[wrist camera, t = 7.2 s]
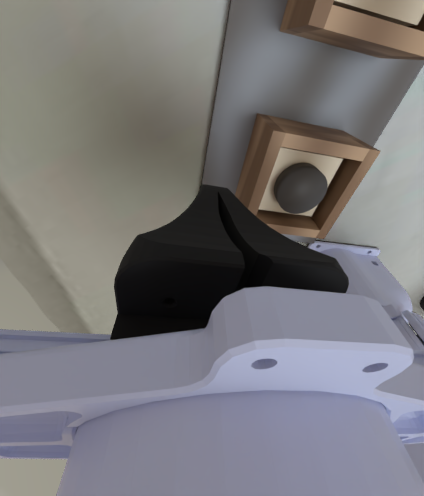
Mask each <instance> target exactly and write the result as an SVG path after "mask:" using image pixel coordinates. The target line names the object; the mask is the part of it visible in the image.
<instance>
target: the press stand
mask: <svg viewBox="0 0 424 496" xmlns="http://www.w3.org/2000/svg"><path fill="white" fill-rule="evenodd" d="M333 2H334V0H231V1H230V8H229V14H228V20H227V27H226V33H225V39H224V45H223V52H222V58H221V64H220V71H219V77H218V83H217V89H216V96H215V102H214V108H213V115H212V121H211V127H210V133H209V140H208V146H207V152H206V159H205V165H204V171H203V177H202V184H206V185H212V186H218V187H224V188H228V189H229V190H230V191H231V192H232V193H233V194H234V195H235V196H236V197H237V198H238V199H239V200H240V202H241V203H242V204H243V205H244V206H245V207H246V208H247V209H248V210H250V211H251V212H252V213H253V214H254V215H255V216H256V217H257V218H259V219H260V220H261V221H262V222H264V223H265V224H267V225H268V226H269V227H271V228H272V229H274V230H275V231H277V232H279V233H280V234H282V235H284V236H285V237H287V238H289V239H291V240H293V241H297V242H305V243H314V242H315V240H316V238H320V239H324V238H325V237H326V235H327V234H328V232H329V230H330V229H331V227H332V226H333V224H334V223H335V221H336V220H337V218H338V216H339V215H340V213H341V212H342V210H343V209H344V207H345V206H346V204H347V203H348V201H349V199H350V198H351V196H352V195H353V193H354V192H355V190H356V189H357V187H358V186H359V184H360V182H361V181H362V179H363V178H364V176H365V175H366V173H367V172H368V170H369V169H370V167H371V165H372V164H373V162H374V161H375V159H376V158H377V156H378V155H379V153H380V152H381V151H379V150H377V149H376V148H374V147H373V146H374V144H375V143H376V141H377V140H378V138H379V136H380V135H381V133H382V131H383V130H384V128H385V127H386V125H387V123H388V122H389V120H390V118H391V117H392V115H393V114H394V112H395V110H396V109H397V107H398V106H399V104H400V102H401V101H402V99H403V97H404V96H405V94H406V93H407V91H408V89H409V88H410V86H411V84H412V83H413V81H414V80H415V78H416V76H417V75H418V73H419V72H420V70H421V68H422V67H423V65H424V14H423V16H422V18H421V20H420V21H419V23H418V25H416V26H407V27H406V26H403V25H400V24H396V23H393V22H389V21H386V20H383V19H379V18H376V17H373V16H369V15H366V14H363V13H359V12H356V11H352V10H349V9H346V8H342V7H339V6H336V5H333ZM281 147H286V148H291V149H297V150H302V151H308V152H313V153H319V154H324V155H330V156H335V157H340V158H343V161H342V162H341V164H340V166H339V168H338V170H337V171H336V173H335V175H334V177H333V179H332V180H331V182H330V184H329V186H328V188H327V191H326V194H325V196H324V198H323V199H322V201H321V202H320V203H319V204H318V206H317V207H316V209H315V211H314V213H313V215H312V216H304V215H297V214H289V213H282V212H275V211H267V210H260V209H259V206H260V203H261V200H262V198H263V195H264V192H265V189H266V187H267V184H268V181H269V178H270V176H271V173H272V170H273V167H274V165H275V162H276V159H277V156H278V154H279V151H280V148H281ZM202 184H201V185H202Z"/></svg>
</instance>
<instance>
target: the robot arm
mask: <svg viewBox="0 0 424 496" xmlns="http://www.w3.org/2000/svg"><path fill="white" fill-rule="evenodd" d="M317 245H318V246H317ZM379 253H380V250H379V249H378V248H371V247H363V246H354V245H346V244H337V243H329V242H320V241H315V242H314V243H310V244H309V246H308V247H305V246H303V245H301V244H299V243H297V242H295V241H293V240H291V239H289V238H287V237H285V236H284V235H282V234H280V233H279V232H277V231H275V230H274V229H272V228H271V227H269V226H268V225H267V224H265V223H264V222H262V221H261V220H260V219H259V218H257V217H256V216H255V215H254V214H253V213H252V212H251V211H250V210H248V209H247V208H246V207H245V206H244V205H243V204H242V203H241V202H240V200H239V199H238V198H237V197H236V196H235V195H234V194H233V193H232V192H231V191H230V190H229V189H228V188H224V187H218V186H212V185H206V184H202V185H201V186H200V191H199V193H198V195H197V196H196V198H195V200H194V201H193V202H192V204H191V205H190V206H189V207H188V208H187V209H186V210H185V211H184V212H183V213H182V214H181V215H180V216H179V217H177V218H176V219H175V220H173V221H172V222H170V223H169V224H167V225H165V226H163V227H161V228H158V229H156V230H153V231H150V232H147V233H143V234H140V235H138V236H137V237H136V238H135V240H134V241H133V242H132V244H131V245H130V247H129V249H128V250H127V252H126V254H125V255H124V257H123V259H122V261H121V263H120V266H119V269H118V272H117V274H116V277H115V283H114V289H115V296H116V304H117V311H118V314H117V318H116V321H115V324H114V327H113V331H112V334H111V335H106V334H86V333H66V332H46V331H26V330H6V329H0V458H14V459H15V458H16V459H18V458H19V459H68V460H67V463H66V466H65V470H64V473H63V476H62V479H61V482H60V485H59V488H58V491H57V494H56V496H424V319H423V318H422V317H421V316H420V315H419V314H417V313H413V312H412V303H411V299H410V297H409V295H408V293H407V292H406V290H405V289H404V288H403V287H402V286H401V284H400V283H399V282H398V281H397V280H396V279H395V277H394V276H393V275H392V274H391V273H390V272H389V271H388V269H387V268H386V267H385V266H384V265H383V264H382V262H381V261H380V260H379V259H378V258H377V256H378V255H379ZM408 322H409V325H410V326H411V327H412V328H413V330H414V331H415V332H416V333H417V335H416V334H415V333H414V332H413V330H412V329H411V328H410V326H409V325H408Z"/></svg>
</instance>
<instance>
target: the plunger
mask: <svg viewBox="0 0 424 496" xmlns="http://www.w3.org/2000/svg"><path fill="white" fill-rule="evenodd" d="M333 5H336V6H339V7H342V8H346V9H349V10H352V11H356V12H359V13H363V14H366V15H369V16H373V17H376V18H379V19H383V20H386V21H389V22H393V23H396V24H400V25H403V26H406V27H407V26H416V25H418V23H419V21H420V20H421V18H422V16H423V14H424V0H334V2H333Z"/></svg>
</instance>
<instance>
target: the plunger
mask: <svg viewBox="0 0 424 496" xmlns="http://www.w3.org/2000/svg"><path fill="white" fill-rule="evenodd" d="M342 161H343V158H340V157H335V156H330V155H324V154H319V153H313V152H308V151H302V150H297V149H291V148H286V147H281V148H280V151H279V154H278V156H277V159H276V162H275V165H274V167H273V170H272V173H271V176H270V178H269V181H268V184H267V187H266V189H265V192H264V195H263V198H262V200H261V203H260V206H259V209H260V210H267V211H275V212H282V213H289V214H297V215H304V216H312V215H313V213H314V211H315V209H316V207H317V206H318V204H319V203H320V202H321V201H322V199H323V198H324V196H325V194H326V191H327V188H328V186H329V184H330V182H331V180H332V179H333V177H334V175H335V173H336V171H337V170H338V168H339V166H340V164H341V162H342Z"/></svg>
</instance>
